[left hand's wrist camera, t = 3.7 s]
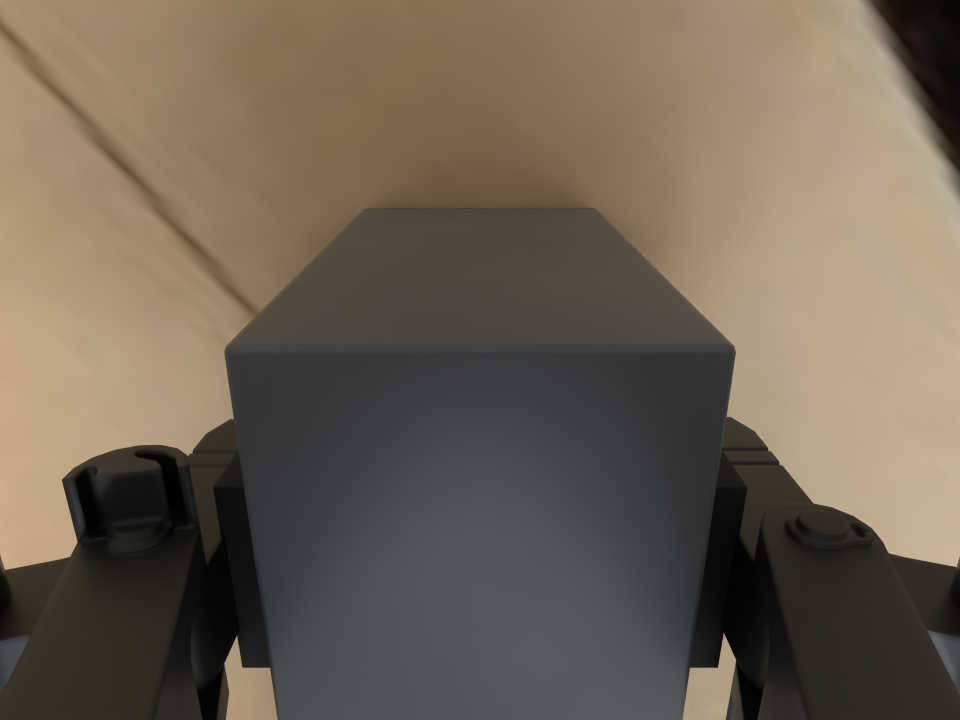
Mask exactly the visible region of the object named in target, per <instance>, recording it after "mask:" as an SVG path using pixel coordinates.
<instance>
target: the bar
mask: <svg viewBox="0 0 960 720" xmlns="http://www.w3.org/2000/svg"><path fill="white" fill-rule="evenodd" d="M224 353H225V360H226V367H227V374H228V381H229V388H230V394H231V401H232V408H233V415H234V422H235V429H236V436H237V443H238V449H239V456H240V463H241V470H242V477H243V484H244V491H245V498H246V504H247V511H248V518H249V525H250V532H251V539H252V546H253V553H254V560H255V566H256V573H257V580H258V587H259V594H260V601H261V608H262V615H263V621H264V628H265V635H266V642H267V649H268V656H269V663H270V670H271V676H272V683H273V690H274V697H275V704H276V711H277V718H278V720H682V718H683V712H684V705H685V698H686V691H687V684H688V677H689V670H690V663H691V657H692V650H693V643H694V636H695V629H696V622H697V615H698V609H699V602H700V595H701V588H702V581H703V574H704V567H705V560H706V554H707V547H708V540H709V533H710V526H711V519H712V512H713V506H714V499H715V492H716V485H717V478H718V471H719V464H720V457H721V451H722V444H723V437H724V430H725V423H726V416H727V409H728V403H729V396H730V389H731V382H732V375H733V368H734V361H735V354H736V351H735V348H734V346H733V345H732V344H731V343H730V342H729V341H728V340H727V339H726V338H725V337H724V336H723V335H722V334H721V333H720V332H719V331H718V330H717V329H716V328H715V327H714V326H713V325H712V324H711V323H710V322H709V321H708V320H707V319H706V318H705V317H704V316H703V315H702V314H701V313H700V312H699V311H698V310H697V309H696V308H695V307H694V306H693V305H692V304H691V303H690V302H689V301H688V300H687V299H686V298H685V297H684V296H683V295H682V294H681V293H680V292H679V291H678V290H677V289H676V288H675V287H674V286H673V285H672V284H671V283H670V282H669V281H668V280H667V279H666V278H665V277H664V276H663V275H662V274H661V273H660V272H659V271H658V270H656V269H655V268H654V267H653V266H652V265H651V264H650V263H649V262H648V261H647V260H646V259H645V258H644V257H643V256H642V255H641V254H640V253H639V252H638V251H637V250H636V249H635V248H634V247H633V246H632V245H631V244H630V243H629V242H628V241H627V240H626V239H625V238H624V237H623V236H622V235H621V234H620V233H619V232H618V231H617V230H616V229H615V228H614V227H613V226H612V225H611V224H610V223H609V222H608V221H607V220H606V219H605V218H604V217H603V216H602V215H601V214H600V213H599V212H598V211H597V210H596V209H593V208H367V209H364V210H363V211H362V212H361V213H360V214H359V215H358V216H357V217H356V218H355V219H354V220H353V221H352V222H351V223H350V224H349V225H348V226H347V227H346V228H345V229H344V230H343V231H342V232H341V233H340V234H339V235H338V236H337V237H336V238H335V239H334V240H333V241H332V242H331V243H330V244H329V245H328V246H327V247H326V248H325V249H324V250H323V251H322V252H321V253H320V254H319V255H318V256H317V257H316V258H315V259H314V260H313V261H312V262H311V263H310V264H309V265H308V266H307V267H306V268H305V269H304V270H303V271H302V272H301V273H300V274H299V275H298V276H296V277H295V278H294V279H293V280H292V281H291V282H290V283H289V284H288V285H287V286H286V287H285V288H284V289H283V290H282V291H281V292H280V293H279V294H278V295H277V296H276V297H275V298H274V299H273V300H272V301H271V302H270V303H269V304H268V305H267V306H266V307H265V308H264V309H263V310H262V311H261V312H260V313H259V314H258V315H257V316H256V317H255V318H254V319H253V320H252V321H251V322H250V323H249V324H248V325H247V326H246V327H245V328H244V329H243V330H242V331H241V332H240V333H239V334H238V335H237V336H236V337H235V338H234V339H233V340H232V341H231V342H230V343H229V344H228V345H227V346H226V348H225V352H224Z"/></svg>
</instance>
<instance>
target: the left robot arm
mask: <svg viewBox="0 0 960 720" xmlns="http://www.w3.org/2000/svg"><path fill="white" fill-rule="evenodd" d="M62 482H63V486H64V490H65V494H66V498H67V502H68V506H69V510H70V514H71V517H72V521H73V525H74V529H75V533H76V537H77V541H78V543H77V545H76V547H75V549H74V551H73V553H72V555H71V557H68V558H64V559H60V560H55V561H50V562H45V563H40V564H34V565H29V566H24V567H19V568H14V569H8V570H5V569H4V566H3V563H2V559H1V556H0V720H226V713H227V705H228V697H229V689H228V683H227V676H226V671H225V665H224V663H225V661H226V659H227V656H228V654H229V652H230V650H231V647H232V645H233V643H234V641H235V638H236V636H237V637H238V643H239V649H240V655H241V661H242V667H243V668H270V663H269V656H268V649H267V642H266V635H265V628H264V621H263V615H262V608H261V601H260V594H259V587H258V580H257V573H256V566H255V560H254V553H253V546H252V539H251V532H250V525H249V518H248V511H247V504H246V498H245V491H244V484H243V477H242V470H241V463H240V456H239V449H238V443H237V436H236V429H235V422H234V419H230V420H228V421H227V422H225V423H223V424H222V425H220V426H218V427H217V428H215V429H213V430H212V431H210V432H208V433H207V434H206V435H205V436H204V437H203V438H202V440H201V441H200V442H199V443H198V445H197V446H196V447H195V448H194V450H193V454H189V456H187V455H186V454H184V453H183V452H182V451H180V450H179V449H177V448H173V447H168V446H163V445H139V446H133V447H128V448H122V449H117V450H113V451H111V452H108V453H105V454H102V455H99V456H96V457H93V458H91V459H89V460H87V461H86V462H84V463H82V464H80V465H78V466H77V467H75V468H73V469H72V470H71V471H70V472H69V473H68V474H67V475H66V476H65V477H64V478H63V479H62ZM723 633H724V634H725V636H726V638H727V641H728V643H729V645H730V647H731V649H732V652H733V654H734V656H735V658H736V665H735V671H734V676H733V682H732V688H731V693H730V699H729V705H728V710H727V716H726V720H960V558H959V561H958V565H957V567H953V566H947V565H942V564H937V563H932V562H926V561H921V560H916V559H911V558H905V557H901V556H897V555H893V554H889V553H888V551H887V549H886V547H885V545H884V543H883V541H882V540H881V539H880V538H879V537H878V535H877V534H876V533H875V532H874V531H873V529H872V528H871V527H869V526H868V525H866V524H865V523H863V522H861V521H860V520H858V519H857V518H855V517H854V516H852V515H849V514H847V513H844V512H842V511H839V510H837V509H834V508H832V507H827V506H822V505H818V504H813V503H812V501H811V500H810V499H809V498H808V496H807V495H806V494H805V493H804V491H803V490H802V489H801V488H800V487H799V485H798V484H797V483H796V482H795V480H794V479H793V478H792V477H791V476H790V474H789V473H788V472H787V471H786V469H785V468H784V467H783V466H782V465H779V461H778V460H777V458H776V457H775V456H774V455H773V453H772V452H771V451H768V447H767V446H766V445H765V444H764V442H763V441H762V440H761V439H760V437H759V436H758V435H757V434H756V433H755V431H753V430H751V429H750V428H748V427H746V426H745V425H743V424H741V423H740V422H738V421H736V420H735V419H733V418H731V417H726V423H725V430H724V437H723V444H722V451H721V457H720V464H719V471H718V478H717V485H716V492H715V499H714V506H713V512H712V519H711V526H710V533H709V540H708V547H707V554H706V560H705V567H704V574H703V581H702V588H701V595H700V602H699V609H698V615H697V622H696V629H695V636H694V643H693V650H692V657H691V663H690V668H718V664H719V658H720V652H721V646H722V640H723Z"/></svg>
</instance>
